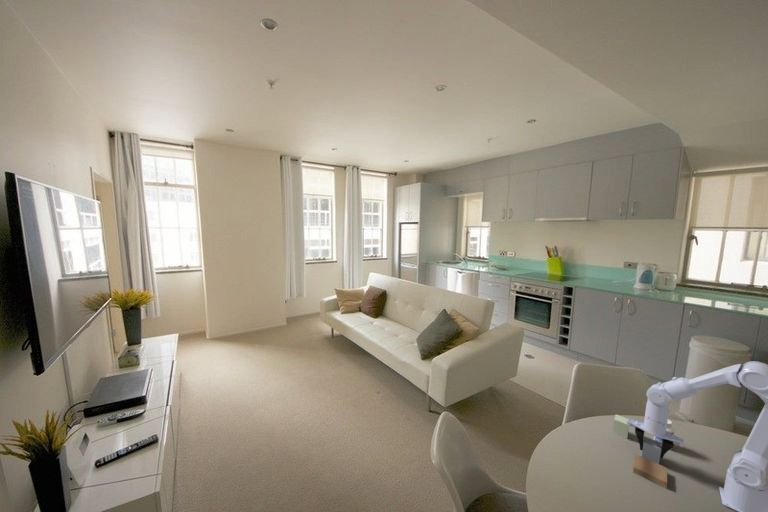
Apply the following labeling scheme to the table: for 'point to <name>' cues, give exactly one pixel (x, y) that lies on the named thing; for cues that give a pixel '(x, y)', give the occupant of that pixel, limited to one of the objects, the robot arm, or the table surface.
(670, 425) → the pill bottle
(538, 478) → the table surface
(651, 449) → the slate block
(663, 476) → the walnut block
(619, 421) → the sage block
